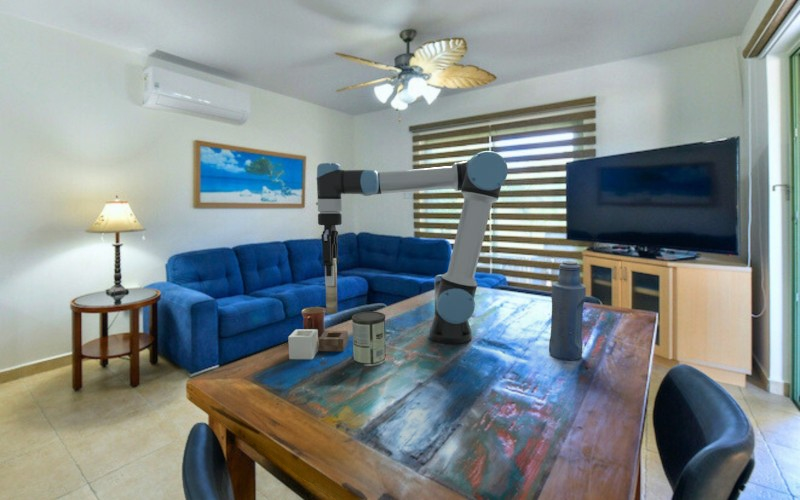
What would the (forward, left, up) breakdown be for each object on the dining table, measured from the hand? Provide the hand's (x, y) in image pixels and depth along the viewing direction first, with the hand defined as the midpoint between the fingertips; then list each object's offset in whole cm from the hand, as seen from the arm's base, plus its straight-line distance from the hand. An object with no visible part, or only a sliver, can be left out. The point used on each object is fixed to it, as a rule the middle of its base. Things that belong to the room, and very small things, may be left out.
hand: (331, 284), depth 124 cm
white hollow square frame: (+8, +7, -22) cm, 25 cm away
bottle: (-75, +3, -22) cm, 79 cm away
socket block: (0, 0, -22) cm, 22 cm away
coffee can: (-13, +8, -22) cm, 27 cm away
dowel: (0, 0, -10) cm, 10 cm away
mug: (+10, -10, -22) cm, 26 cm away
